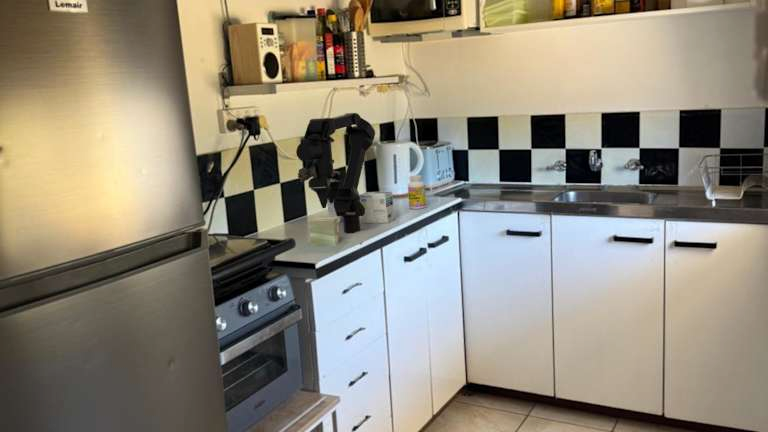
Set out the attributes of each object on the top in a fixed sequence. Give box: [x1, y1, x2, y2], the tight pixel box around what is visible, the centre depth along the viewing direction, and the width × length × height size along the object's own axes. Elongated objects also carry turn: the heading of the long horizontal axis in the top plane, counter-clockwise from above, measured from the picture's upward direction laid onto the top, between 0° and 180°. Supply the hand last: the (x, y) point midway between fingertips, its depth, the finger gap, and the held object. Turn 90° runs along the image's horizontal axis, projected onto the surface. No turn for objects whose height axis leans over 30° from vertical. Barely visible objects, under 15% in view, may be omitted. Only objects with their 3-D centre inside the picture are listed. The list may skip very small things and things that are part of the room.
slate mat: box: [292, 240, 350, 255], centre depth 223 cm, size 16×14×1 cm
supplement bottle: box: [407, 174, 427, 210], centre depth 285 cm, size 7×7×13 cm
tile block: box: [308, 217, 341, 246], centre depth 227 cm, size 5×8×8 cm, turn 79°
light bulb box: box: [359, 190, 396, 224], centre depth 263 cm, size 11×7×11 cm, turn 66°
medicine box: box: [326, 199, 343, 224], centre depth 271 cm, size 8×4×9 cm, turn 170°
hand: (327, 205), depth 233 cm, fingers open, 9 cm apart
